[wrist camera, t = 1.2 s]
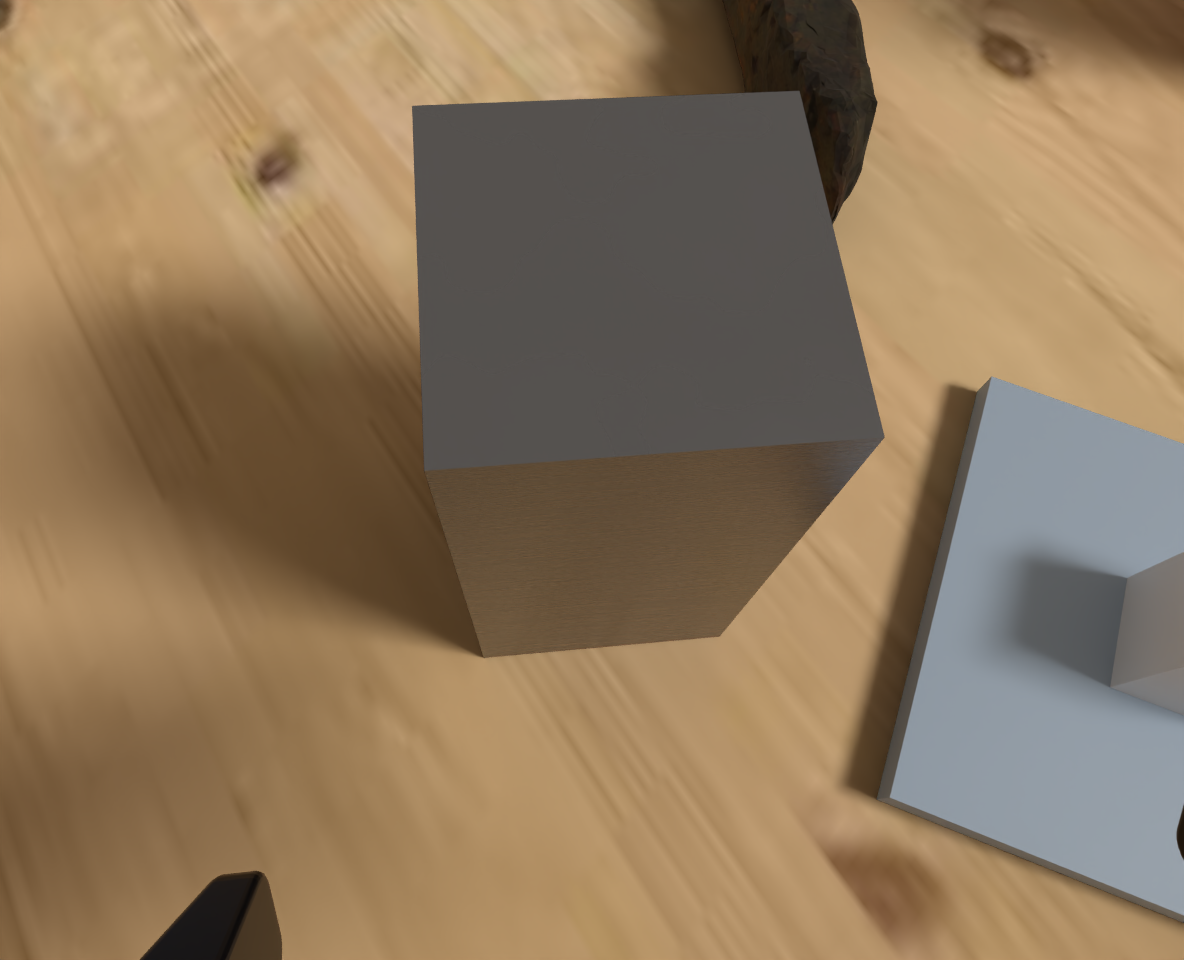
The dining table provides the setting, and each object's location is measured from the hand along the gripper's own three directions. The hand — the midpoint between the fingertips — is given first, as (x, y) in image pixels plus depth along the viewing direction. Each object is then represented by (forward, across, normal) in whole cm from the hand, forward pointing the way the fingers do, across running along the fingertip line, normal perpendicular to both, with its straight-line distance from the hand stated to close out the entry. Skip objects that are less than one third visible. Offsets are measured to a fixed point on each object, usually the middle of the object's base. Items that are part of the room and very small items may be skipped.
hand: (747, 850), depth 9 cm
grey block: (+15, 0, +4) cm, 15 cm away
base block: (+12, -14, +8) cm, 20 cm away
